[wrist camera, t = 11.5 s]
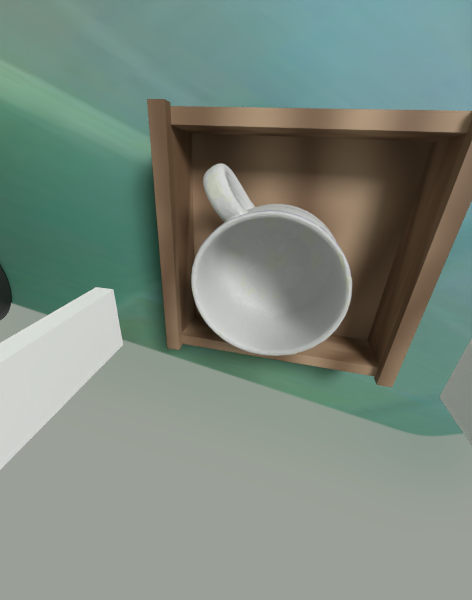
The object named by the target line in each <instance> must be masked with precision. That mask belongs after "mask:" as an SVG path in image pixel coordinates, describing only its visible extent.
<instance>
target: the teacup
mask: <svg viewBox="0 0 472 600" xmlns="http://www.w3.org/2000/svg"><path fill="white" fill-rule="evenodd" d="M203 186H204V189H205V192H206V195H207V197H208V199H209V201H210V203H211V205H212V207H213V208H214V210H215V211H216V213H217V214H218V215H219V216H220V218H221V219H222V220H223V221H224V223H223V224H222V225H221V226H219V227H218V228H217V229H216V230H215V231H214V232H212V233H211V234H210V235H209V236H208V238H207V239H206V240H205V241H204V242H203V244H202V245H201V247H200V249H199V251H198V253H197V254H196V257H195V260H194V263H193V267H192V274H191V286H192V292H193V296H194V300H195V304H196V306H197V308H198V311H199V312H200V314H201V316H202V317H203V319H204V321H205V322H206V323H207V324H208V326H209V327H210V328H211V329H212V330H213V331H214V332H215V333H216V334H217V335H218V336H220V337H221V338H222V339H224V340H225V341H226V342H228V343H230V344H231V345H233V346H235V347H237V348H240V349H242V350H245V351H248V352H251V353H256V354H260V355H271V356H281V355H293V354H296V353H299V352H303V351H306V350H308V349H311V348H313V347H315V346H316V345H318V344H320V343H321V342H323V341H325V340H326V339H327V338H328V337H329V336H330V335H331V334H332V333H333V332H334V331H335V330H336V329H337V327H338V326H339V325H340V323H341V322H342V320H343V319H344V317H345V315H346V313H347V310H348V307H349V304H350V300H351V296H352V278H351V271H350V268H349V265H348V261H347V259H346V257H345V255H344V253H343V252H342V250H341V248H340V246H339V245H338V244H337V242H336V240H335V238H334V236H333V235H332V233H331V232H330V230H329V229H328V228H327V227H326V226H325V224H324V223H323V222H321V221H320V220H319V219H318V218H317V217H315V216H314V215H313V214H311V213H309V212H308V211H306V210H303V209H301V208H298V207H295V206H291V205H286V204H267V205H262V206H258V207H255V206H254V204H253V203H252V202H251V201H250V199H249V197H248V196H247V194H246V192H245V191H244V189H243V187H242V185H241V184H240V182H239V181H238V179H237V177H236V176H235V174H234V173H233V171H232V170H231V169H230V168H229V167H228V166H226V165H225V164H221V163H220V164H216V165H214V166H212V167H211V168H210V169H209V170H207V172H206V173H205V174H204V177H203Z"/></svg>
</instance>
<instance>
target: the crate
mask: <svg viewBox="0 0 472 600" xmlns="http://www.w3.org/2000/svg"><path fill="white" fill-rule="evenodd" d="M147 104H148V116H149V129H150V141H151V153H152V166H153V178H154V190H155V202H156V215H157V227H158V239H159V251H160V264H161V276H162V288H163V301H164V313H165V325H166V337H167V348H170V349H176V350H179V349H180V348H181V346H182V344H188V345H194V346H199V347H205V348H211V349H217V350H223V351H229V352H235V353H240V354H246V355H252V356H258V357H264V358H270V359H276V360H282V361H287V362H293V363H299V364H305V365H311V366H317V367H323V368H329V369H334V370H340V371H346V372H352V373H358V374H364V375H370V376H375V378H374V379H375V381H376V384H377V385H382V386H387V387H392V386H393V384H394V381H395V379H396V377H397V374H398V372H399V370H400V367H401V365H402V363H403V360H404V358H405V356H406V353H407V351H408V349H409V346H410V344H411V342H412V339H413V337H414V334H415V332H416V330H417V327H418V325H419V323H420V320H421V318H422V316H423V313H424V311H425V309H426V306H427V304H428V302H429V299H430V297H431V295H432V292H433V290H434V288H435V285H436V283H437V281H438V278H439V276H440V273H441V271H442V269H443V266H444V264H445V262H446V259H447V257H448V255H449V252H450V250H451V248H452V245H453V243H454V241H455V238H456V236H457V234H458V231H459V229H460V227H461V224H462V222H463V219H464V217H465V215H466V212H467V210H468V208H469V205H470V203H471V201H472V111H435V110H373V109H310V108H248V107H186V106H170V102H169V101H167V100H165V99H147ZM220 163H221V164H225V165H226V166H228V167H229V168H230V169H231V170H232V171H233V173H234V174H235V176H236V177H237V179H238V181H239V182H240V184H241V185H242V187H243V189H244V191H245V192H246V194H247V196H248V197H249V199H250V201H251V202H252V203H253V204H254V206H255V207H258V206H262V205H267V204H286V205H291V206H295V207H298V208H301V209H303V210H306V211H308V212H309V213H311V214H313V215H314V216H315V217H317V218H318V219H319V220H320V221H321V222H323V223H324V224H325V226H326V227H327V228H328V229H329V230H330V232H331V233H332V235H333V236H334V238H335V240H336V242H337V244H338V245H339V246H340V248H341V250H342V252H343V253H344V255H345V257H346V259H347V261H348V265H349V268H350V271H351V278H352V296H351V300H350V304H349V307H348V310H347V313H346V315H345V317H344V319H343V320H342V322H341V323H340V325H339V326H338V327H337V329H336V330H335V331H334V332H333V333H332V334H331V335H330V336H329V337H328V338H327V339H326V340H325V341H323V342H321V343H320V344H318V345H316V346H315V347H313V348H311V349H308V350H306V351H303V352H299V353H296V354H293V355H281V356H271V355H260V354H256V353H251V352H248V351H245V350H242V349H240V348H237V347H235V346H233V345H231V344H230V343H228V342H226V341H225V340H224V339H222V338H221V337H220V336H218V335H217V334H216V333H215V332H214V331H213V330H212V329H211V328H210V327H209V326H208V324H207V323H206V322H205V321H204V319H203V317H202V316H201V314H200V312H199V311H198V308H197V306H196V304H195V300H194V296H193V292H192V286H191V274H192V267H193V263H194V260H195V257H196V254H197V253H198V251H199V249H200V247H201V245H202V244H203V242H204V241H205V240H206V239H207V238H208V236H209V235H210V234H211V233H212V232H214V231H215V230H216V229H217V228H218V227H219V226H221V225H222V224H223V223H224V221H223V220H222V219H221V218H220V216H219V215H218V214H217V213H216V211H215V210H214V208H213V207H212V205H211V203H210V201H209V199H208V197H207V195H206V192H205V189H204V186H203V177H204V174H205V173H206V172H207V170H209V169H210V168H211V167H212V166H214V165H216V164H220Z"/></svg>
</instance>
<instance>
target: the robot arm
mask: <svg viewBox="0 0 472 600" xmlns="http://www.w3.org/2000/svg"><path fill="white" fill-rule="evenodd" d="M10 305H11V293H10V288H9V284H8V281H7V278H6V276H5V274H4V272H3V270H2V268H1V266H0V320H1V319H3V318H4V317H5V316H6V315H7V313H8V311H9V309H10ZM122 345H123V343H122V337H121V331H120V325H119V320H118V314H117V308H116V302H115V297H114V291H113V289H105V288H98V287H96V288H94V289H92V290H91V291H89V292H87V293H85V294H84V295H82V296H80V297H79V298H77V299H75V300H73V301H72V302H70V303H68V304H67V305H65V306H63V307H61V308H60V309H58V310H56V311H54V312H53V313H51V314H49V315H48V316H46V317H44V318H42V319H41V320H39V321H37V322H36V323H34V324H32V325H30V326H29V327H27V328H25V329H23V330H22V331H20V332H19V333H17V334H15V335H13V336H11V337H10V338H8V339H6V340H5V341H3V342H1V343H0V470H1V469H2V468H3V467H4V466H5V465H6V464H7V462H8V461H10V460H11V458H12V457H13V456H14V455H15V454H16V453H17V452H18V451H19V450H20V449H21V448H22V447H23V446H24V445H25V444H26V443H27V442H28V441H29V440H30V439H31V438H32V437H33V436H34V435H35V434H36V433H37V432H38V431H39V430H40V429H41V428H42V427H43V426H44V425H45V424H46V423H47V422H48V421H49V420H50V419H51V418H52V417H53V416H54V415H55V414H56V413H57V412H58V411H59V410H60V409H61V407H63V406H64V404H65V403H66V402H67V401H68V400H69V399H70V398H71V397H72V396H73V395H74V394H75V393H76V392H77V391H78V390H79V389H80V388H81V387H82V386H83V385H84V384H85V383H86V382H87V381H88V380H89V379H90V378H91V377H92V376H93V375H94V374H95V373H96V372H97V371H98V370H99V369H100V368H101V367H102V366H103V365H104V364H105V363H106V362H107V361H108V359H110V358H111V357H112V356H113V355H114V354H115V353H116V351H118V349H119V348H120V347H121V346H122ZM440 399H441V400H442V402H443V403H444V405H445V406H446V408H447V409H448V411H449V412H450V414H451V415H452V417H453V418H454V420H455V421H456V423H457V424H458V426H459V427H460V429H461V430H462V432H463V433H464V435H465V436H466V437H467V439H468V440H469V442H470V444H471V445H472V339H471V340H470V342H469V344H468V346H467V348H466V349H465V351H464V353H463V355H462V357H461V359H460V360H459V362H458V364H457V366H456V368H455V369H454V371H453V373H452V375H451V377H450V379H449V380H448V382H447V384H446V386H445V388H444V389H443V391H442V393H441V395H440Z"/></svg>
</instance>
